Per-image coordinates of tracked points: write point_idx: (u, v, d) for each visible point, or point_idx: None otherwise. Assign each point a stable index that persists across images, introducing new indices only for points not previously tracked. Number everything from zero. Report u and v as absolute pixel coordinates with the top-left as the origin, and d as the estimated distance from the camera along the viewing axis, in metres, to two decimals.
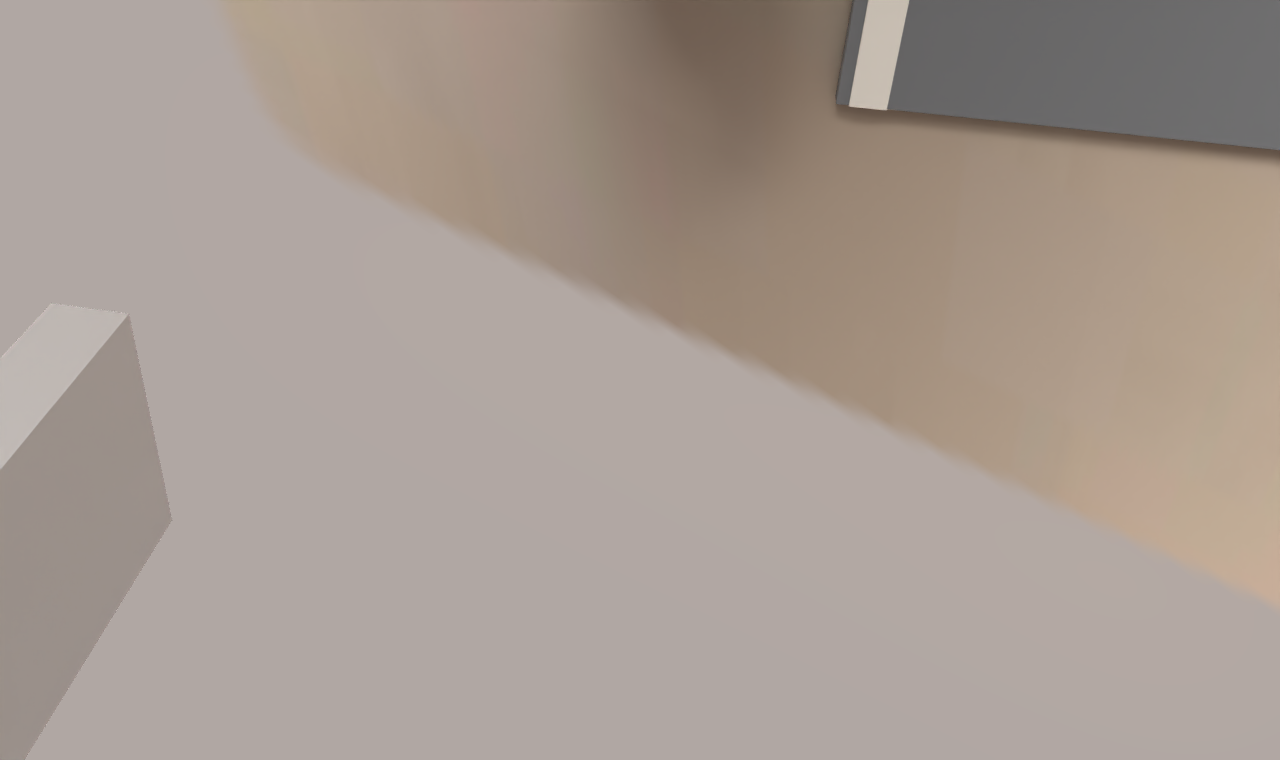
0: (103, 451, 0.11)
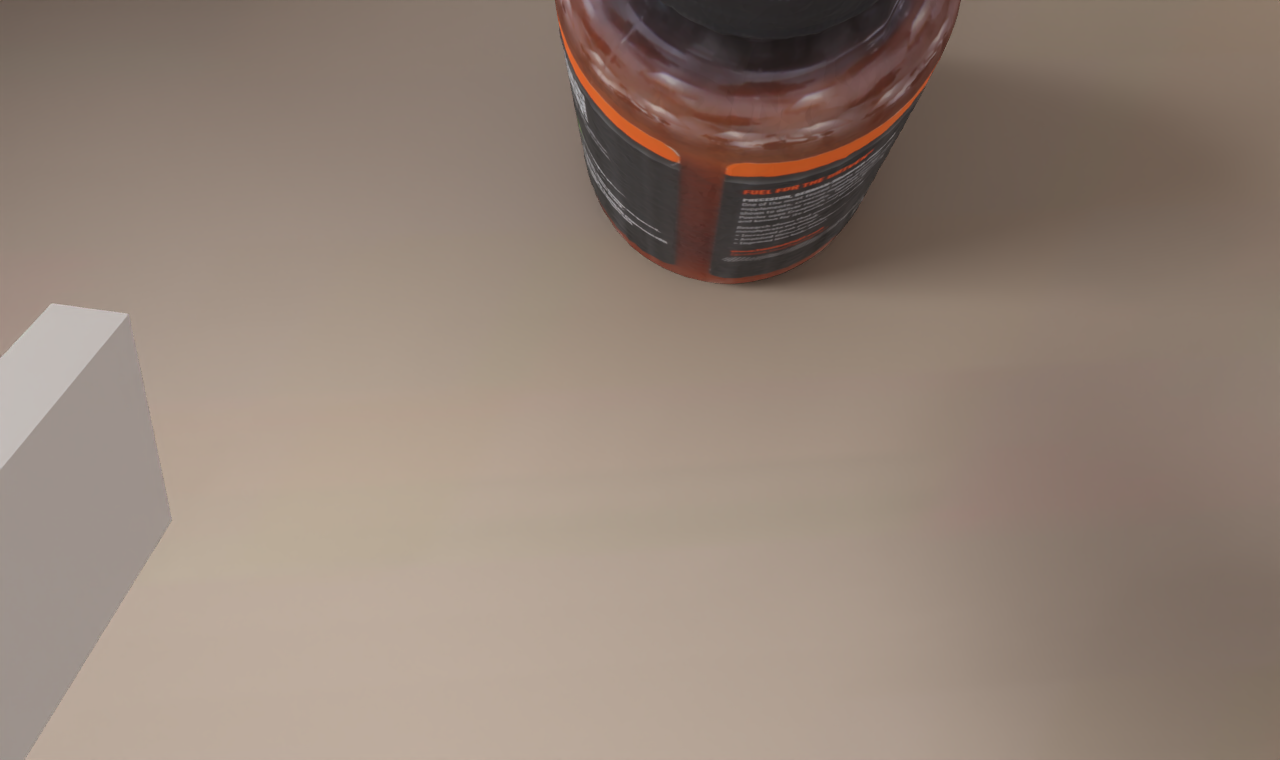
0: (103, 451, 0.11)
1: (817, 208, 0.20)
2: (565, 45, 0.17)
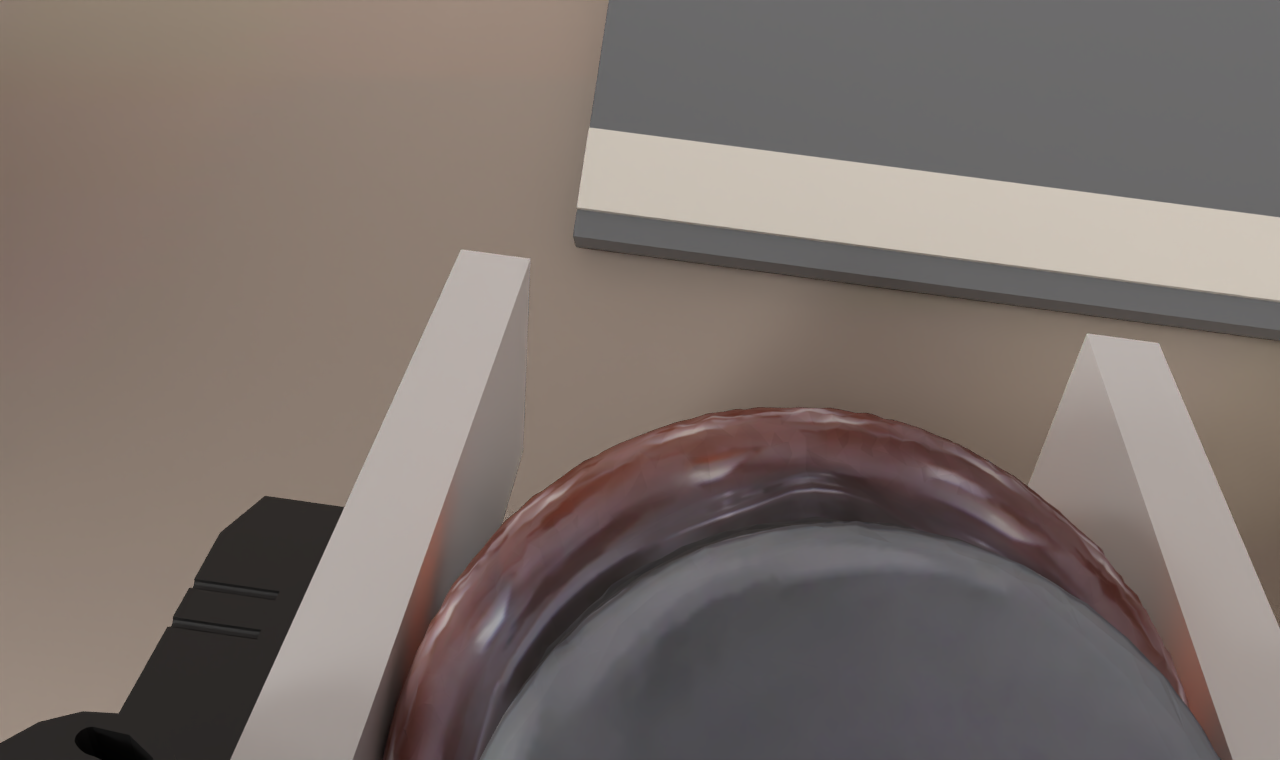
0: (511, 380, 0.12)
1: None
2: None
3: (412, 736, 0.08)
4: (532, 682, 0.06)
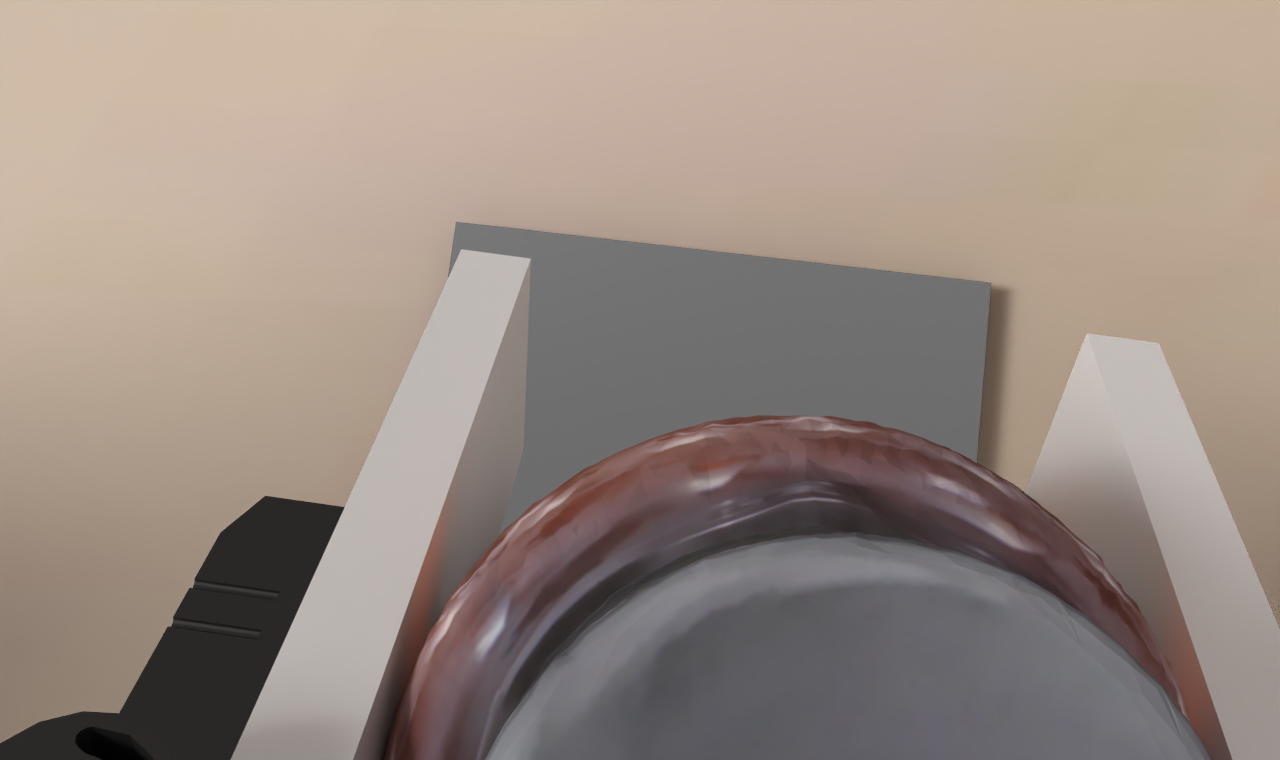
0: (511, 380, 0.12)
1: None
2: None
3: (412, 744, 0.08)
4: (532, 693, 0.06)
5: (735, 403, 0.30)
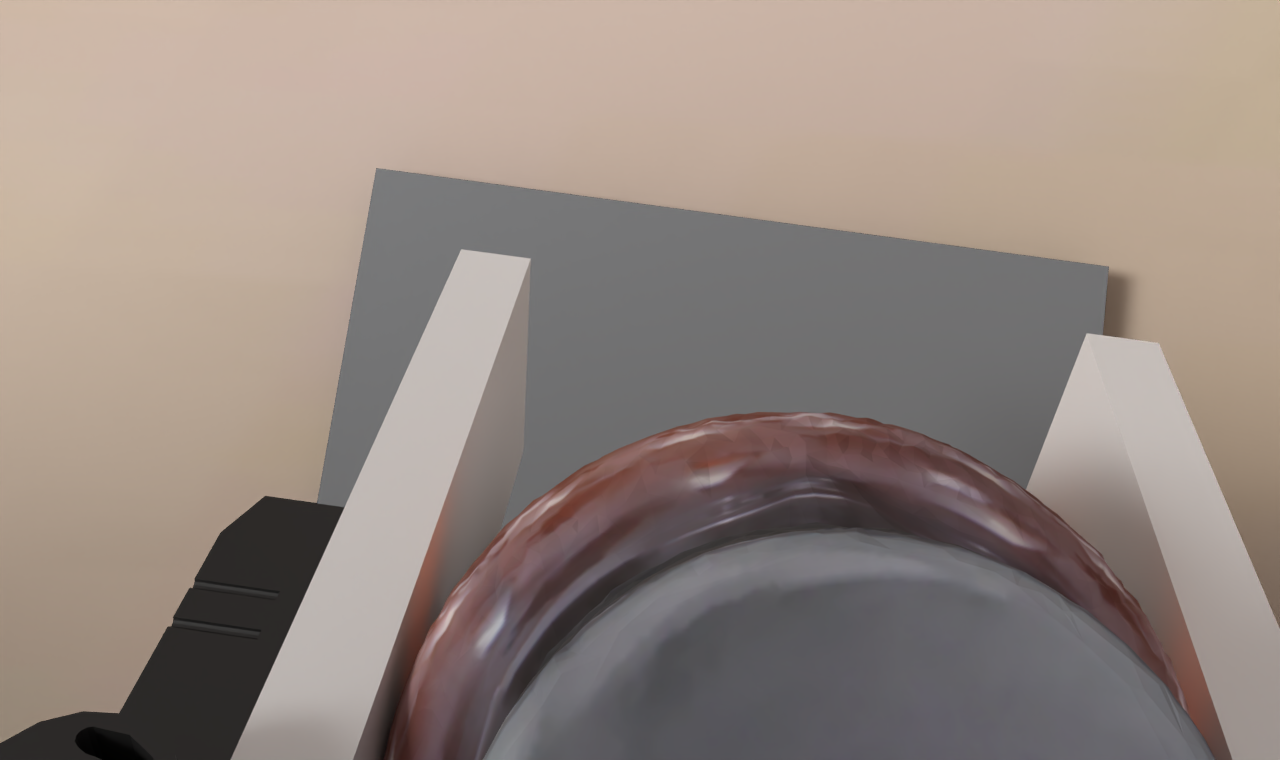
0: (512, 380, 0.12)
1: None
2: None
3: (412, 741, 0.08)
4: (532, 689, 0.06)
5: None
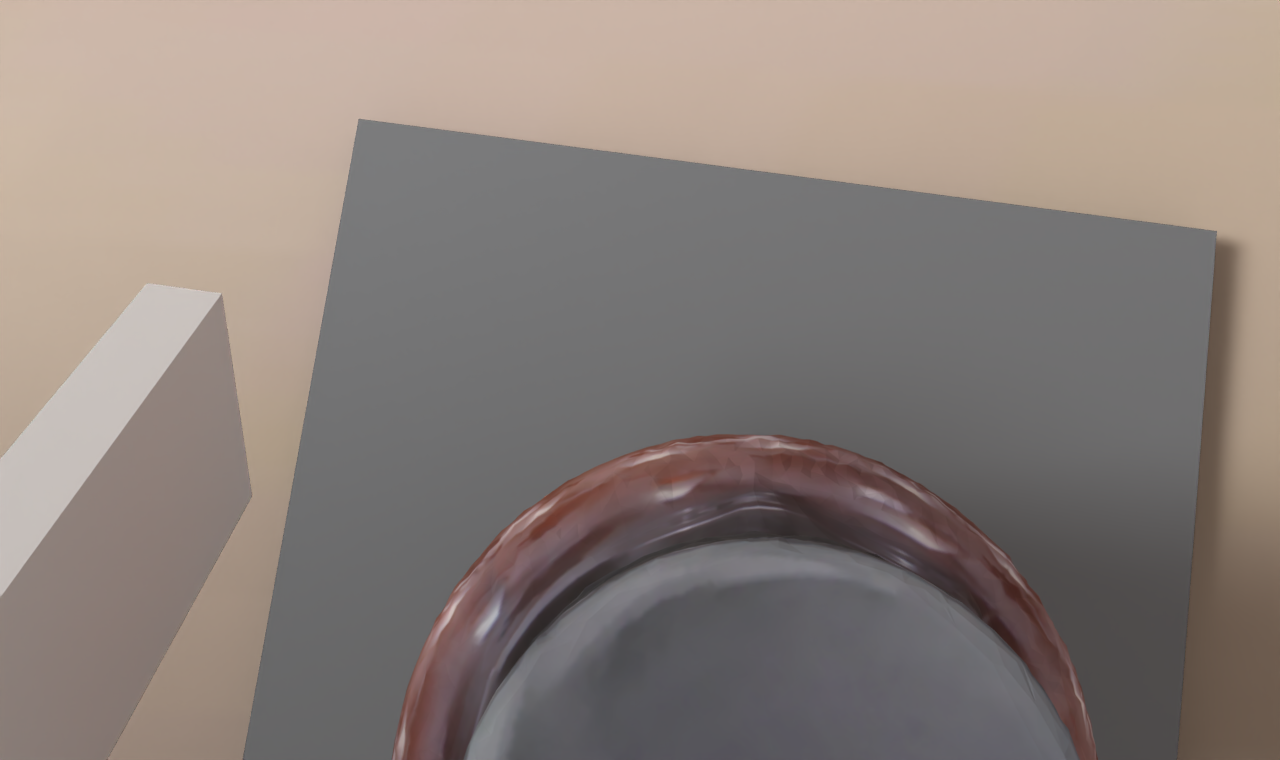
0: (198, 426, 0.11)
1: None
2: None
3: (421, 715, 0.09)
4: (518, 666, 0.07)
5: (801, 417, 0.19)
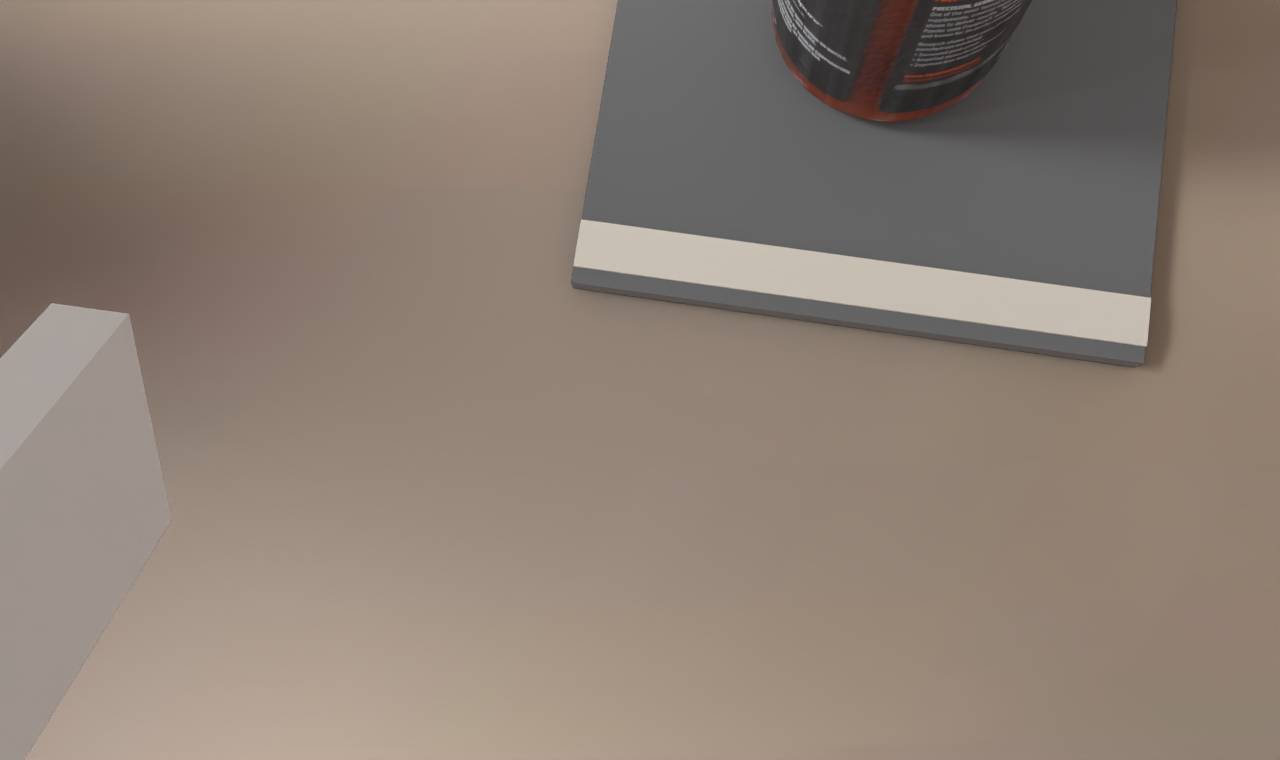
0: (103, 451, 0.11)
1: (984, 27, 0.25)
2: None
3: None
4: None
5: None
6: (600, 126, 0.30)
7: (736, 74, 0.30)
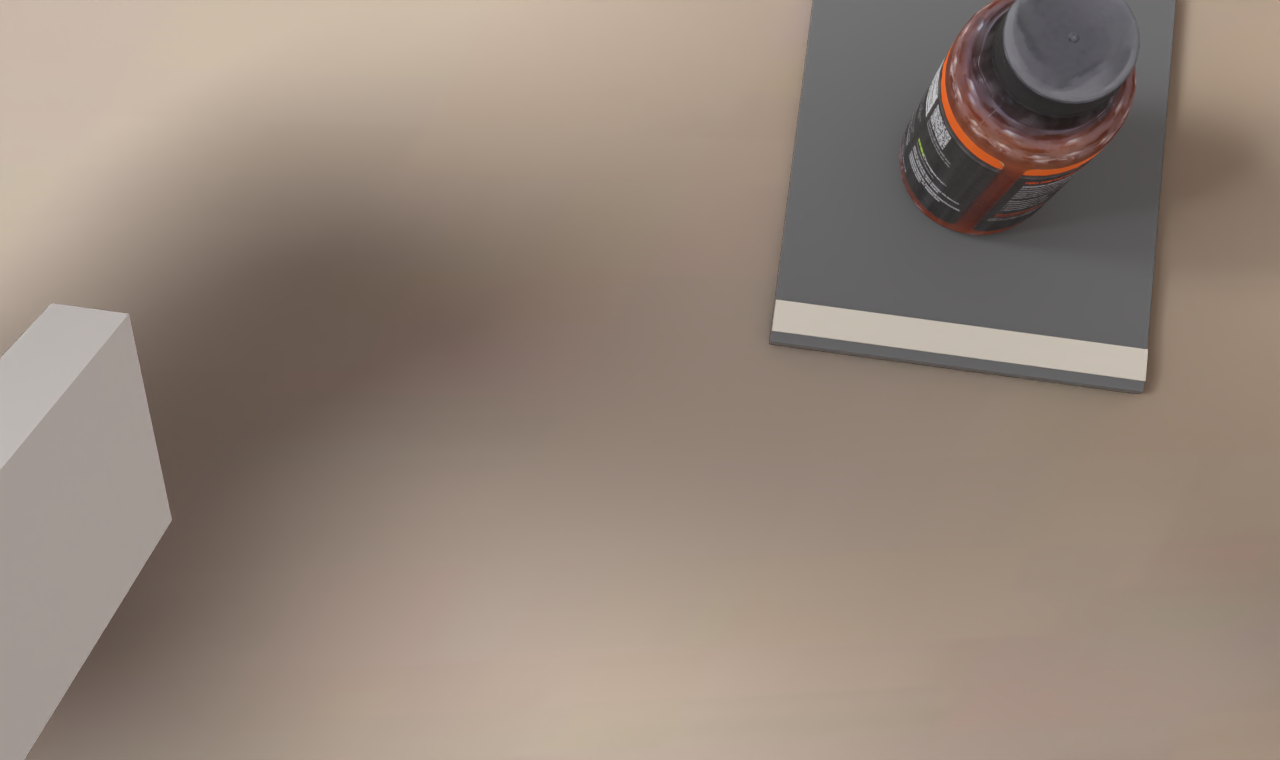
0: (102, 451, 0.11)
1: (1049, 192, 0.40)
2: (948, 115, 0.38)
3: (962, 51, 0.37)
4: (1016, 0, 0.35)
5: None
6: (786, 236, 0.45)
7: (875, 201, 0.45)
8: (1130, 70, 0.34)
